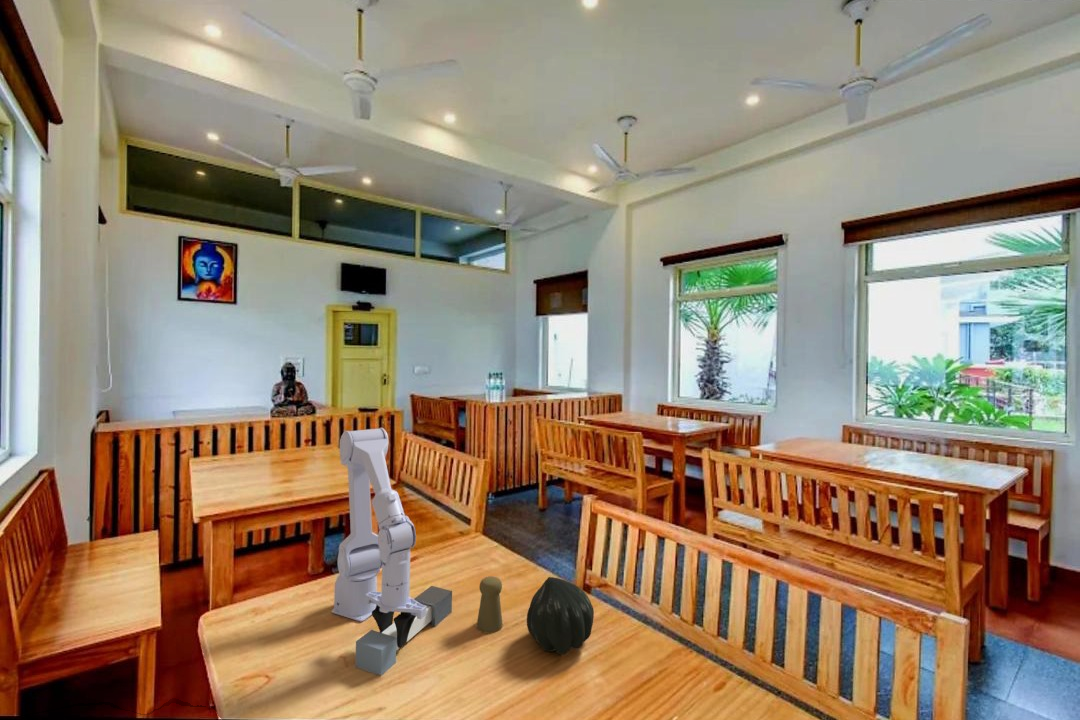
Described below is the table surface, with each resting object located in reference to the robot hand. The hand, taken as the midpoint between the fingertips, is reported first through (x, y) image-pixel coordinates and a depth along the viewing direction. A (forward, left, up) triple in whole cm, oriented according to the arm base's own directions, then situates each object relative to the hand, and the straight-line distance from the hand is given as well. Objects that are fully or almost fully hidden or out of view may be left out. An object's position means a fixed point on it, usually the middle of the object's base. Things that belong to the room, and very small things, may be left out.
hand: (394, 642), depth 106 cm
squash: (+31, +18, -2) cm, 36 cm away
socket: (0, -6, -1) cm, 6 cm away
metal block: (0, +14, -1) cm, 14 cm away
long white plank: (0, +3, -1) cm, 3 cm away
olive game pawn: (+14, +17, -2) cm, 22 cm away
